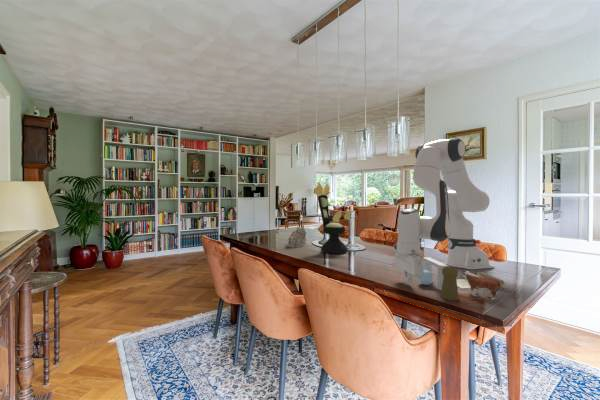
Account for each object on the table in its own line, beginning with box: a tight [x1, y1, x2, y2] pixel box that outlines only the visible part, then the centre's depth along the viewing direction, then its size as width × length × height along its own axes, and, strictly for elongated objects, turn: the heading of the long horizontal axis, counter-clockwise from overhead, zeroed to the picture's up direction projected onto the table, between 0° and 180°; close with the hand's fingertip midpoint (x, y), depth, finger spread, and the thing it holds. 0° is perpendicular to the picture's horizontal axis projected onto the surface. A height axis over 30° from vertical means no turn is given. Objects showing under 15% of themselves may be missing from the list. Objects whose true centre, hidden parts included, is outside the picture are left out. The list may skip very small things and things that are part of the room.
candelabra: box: [314, 181, 353, 255], centre depth 194 cm, size 19×22×45 cm
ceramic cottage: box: [286, 224, 308, 249], centre depth 218 cm, size 16×16×15 cm
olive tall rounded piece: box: [440, 266, 460, 301], centre depth 112 cm, size 6×6×11 cm
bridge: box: [422, 256, 449, 291], centre depth 127 cm, size 3×15×10 cm, turn 3°
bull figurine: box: [462, 270, 500, 301], centre depth 114 cm, size 4×13×8 cm, turn 32°
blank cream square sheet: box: [456, 278, 471, 290], centre depth 128 cm, size 12×12×1 cm
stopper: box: [476, 271, 505, 290], centre depth 129 cm, size 2×14×3 cm, turn 4°
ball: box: [417, 270, 434, 286], centre depth 127 cm, size 6×6×6 cm
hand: (408, 281), depth 127 cm, fingers closed
